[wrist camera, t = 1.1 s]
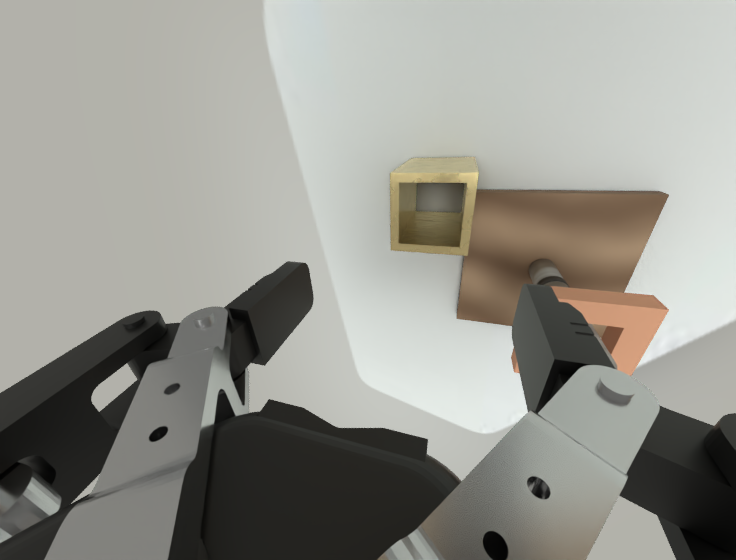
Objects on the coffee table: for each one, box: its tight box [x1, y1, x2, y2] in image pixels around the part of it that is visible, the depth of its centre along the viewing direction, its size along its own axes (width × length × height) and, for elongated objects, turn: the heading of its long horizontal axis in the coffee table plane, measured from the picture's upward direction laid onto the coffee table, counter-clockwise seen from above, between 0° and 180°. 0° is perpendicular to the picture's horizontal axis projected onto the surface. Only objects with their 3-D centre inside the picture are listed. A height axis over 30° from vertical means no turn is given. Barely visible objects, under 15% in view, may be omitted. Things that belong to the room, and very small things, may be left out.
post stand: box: [457, 190, 669, 370], centre depth 22 cm, size 14×14×14 cm
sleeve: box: [390, 157, 479, 256], centre depth 23 cm, size 6×6×9 cm
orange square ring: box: [511, 286, 669, 376], centre depth 18 cm, size 6×6×2 cm
